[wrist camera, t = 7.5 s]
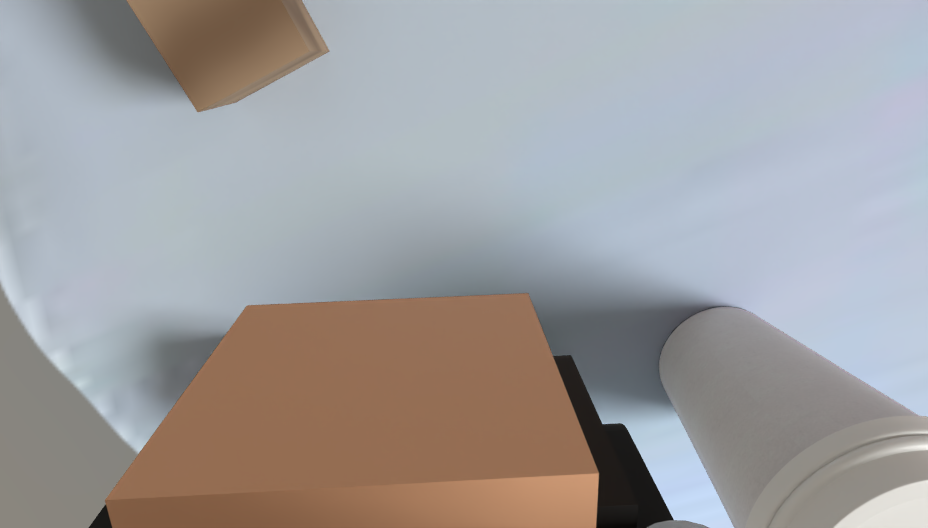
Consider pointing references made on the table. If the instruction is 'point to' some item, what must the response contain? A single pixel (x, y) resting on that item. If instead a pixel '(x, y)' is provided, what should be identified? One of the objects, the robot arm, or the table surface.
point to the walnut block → (229, 44)
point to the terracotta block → (370, 424)
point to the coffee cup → (792, 429)
